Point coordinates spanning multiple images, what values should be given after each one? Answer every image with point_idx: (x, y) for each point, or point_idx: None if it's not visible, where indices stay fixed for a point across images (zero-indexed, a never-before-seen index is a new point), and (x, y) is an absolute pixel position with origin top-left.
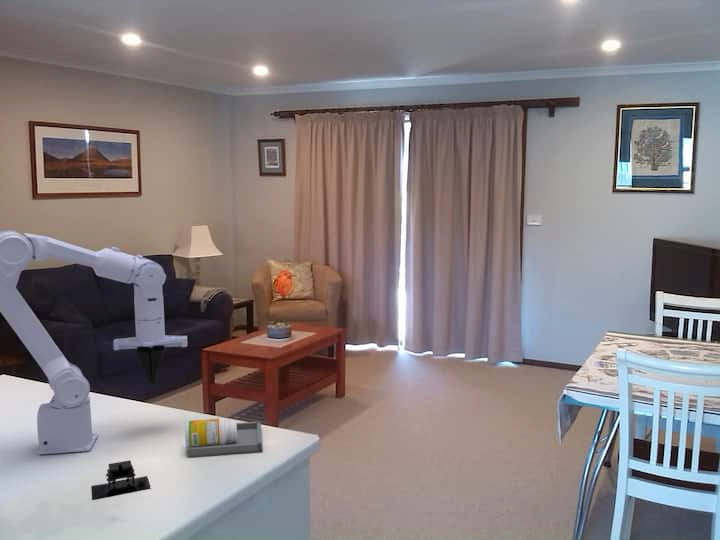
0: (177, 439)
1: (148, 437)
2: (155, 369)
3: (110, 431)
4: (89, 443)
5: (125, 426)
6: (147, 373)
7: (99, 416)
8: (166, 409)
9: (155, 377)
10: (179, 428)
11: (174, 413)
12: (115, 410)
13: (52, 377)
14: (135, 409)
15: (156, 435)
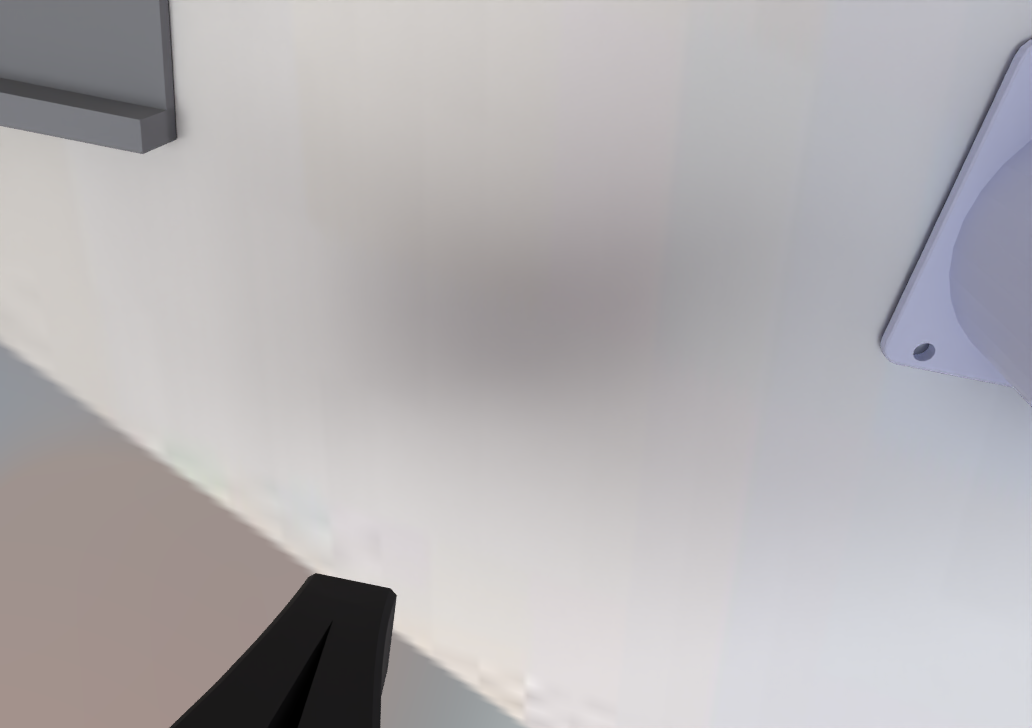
0: (285, 49)
1: (514, 184)
2: (209, 718)
3: (774, 403)
4: (1001, 167)
5: (662, 450)
6: (365, 692)
7: (800, 654)
8: None
9: (278, 617)
10: (288, 277)
11: (342, 537)
12: (694, 698)
13: None
14: (577, 671)
15: (453, 202)
